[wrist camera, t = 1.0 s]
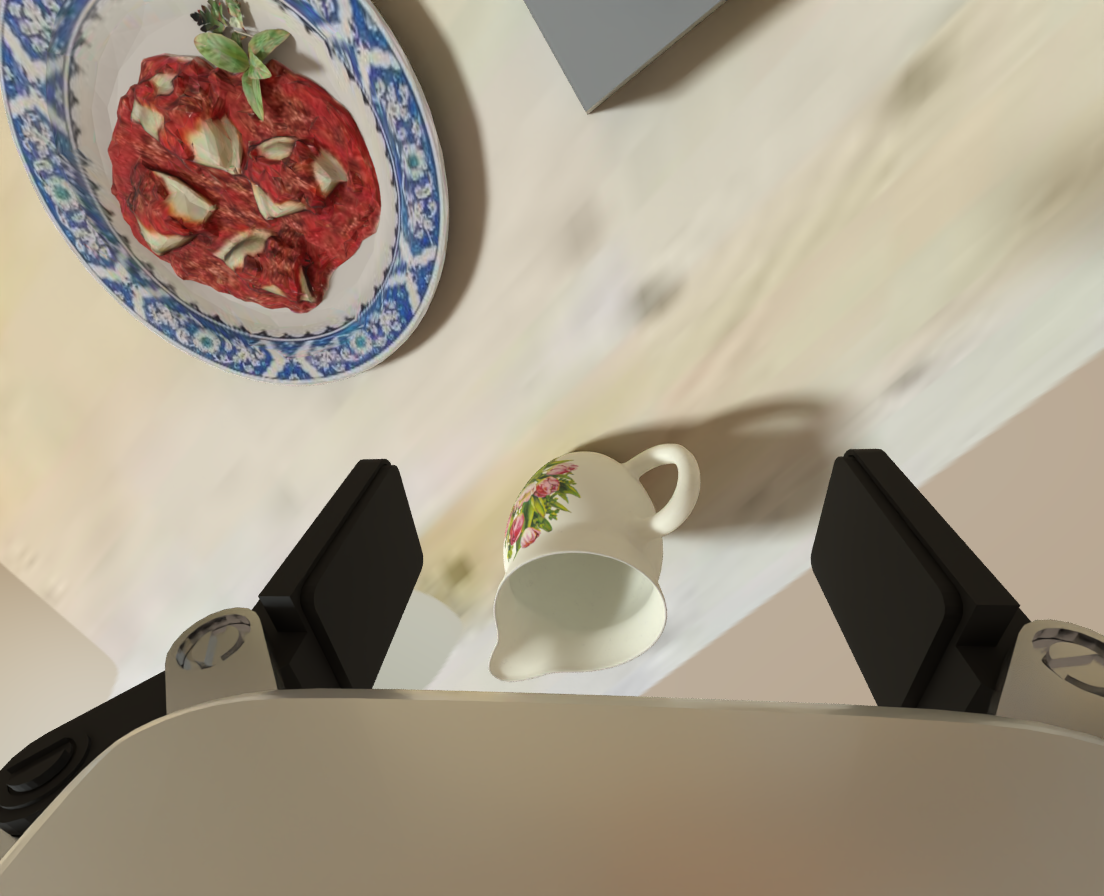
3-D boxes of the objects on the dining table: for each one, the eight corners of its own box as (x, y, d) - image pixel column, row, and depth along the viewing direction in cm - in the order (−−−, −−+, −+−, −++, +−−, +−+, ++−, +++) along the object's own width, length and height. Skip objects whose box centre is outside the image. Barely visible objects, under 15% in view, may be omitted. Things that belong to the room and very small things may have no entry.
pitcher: (728, 452, 39) (782, 589, 27) (568, 569, 47) (557, 715, 35) (627, 359, 35) (639, 469, 24) (474, 502, 43) (427, 637, 32)
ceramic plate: (363, 433, 41) (347, 453, 38) (20, 237, 35) (-25, 245, 32) (537, 117, 29) (531, 115, 26) (55, -272, 22) (-15, -324, 20)
